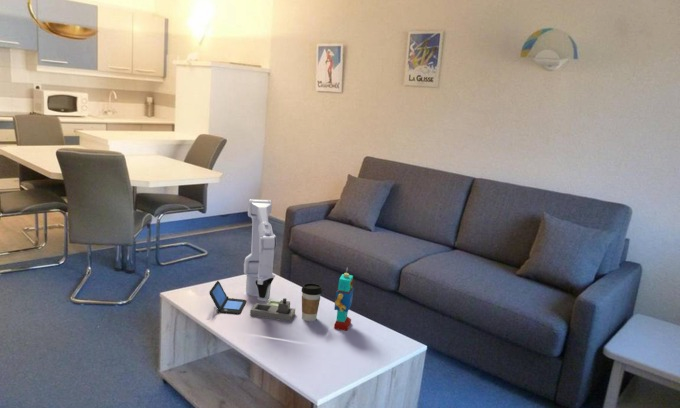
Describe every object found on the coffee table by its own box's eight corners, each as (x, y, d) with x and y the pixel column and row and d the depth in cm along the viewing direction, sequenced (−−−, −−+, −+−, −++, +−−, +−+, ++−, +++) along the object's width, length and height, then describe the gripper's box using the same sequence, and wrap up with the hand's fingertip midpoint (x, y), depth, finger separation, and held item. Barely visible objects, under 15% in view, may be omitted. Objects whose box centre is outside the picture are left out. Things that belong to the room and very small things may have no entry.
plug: (260, 296, 219) (261, 279, 217) (269, 297, 218) (271, 280, 217) (257, 299, 215) (258, 282, 213) (267, 301, 214) (268, 283, 213)
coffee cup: (310, 325, 211) (313, 290, 209) (294, 319, 216) (297, 284, 214) (323, 320, 218) (326, 286, 215) (307, 313, 223) (310, 280, 220)
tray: (269, 303, 230) (269, 300, 230) (287, 305, 229) (287, 302, 229) (264, 309, 223) (264, 306, 222) (282, 312, 222) (283, 309, 221)
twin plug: (279, 313, 219) (281, 296, 217) (289, 315, 218) (290, 297, 217) (277, 317, 215) (278, 299, 213) (286, 318, 214) (288, 301, 213)
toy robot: (346, 332, 208) (352, 272, 204) (331, 329, 209) (337, 270, 205) (351, 321, 220) (357, 264, 215) (337, 319, 221) (343, 262, 216)
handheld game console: (239, 316, 214) (241, 295, 212) (207, 313, 214) (208, 292, 212) (246, 302, 229) (248, 282, 228) (216, 299, 229) (217, 279, 227)
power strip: (255, 309, 222) (256, 302, 222) (294, 315, 220) (295, 308, 219) (250, 316, 214) (250, 309, 214) (290, 322, 212) (290, 315, 212)
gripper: (270, 270, 206) (268, 303, 209) (280, 260, 220) (277, 291, 223) (253, 268, 207) (251, 300, 209) (263, 258, 221) (261, 288, 224)
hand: (263, 295), depth 216 cm, fingers closed on plug, 4 cm apart
